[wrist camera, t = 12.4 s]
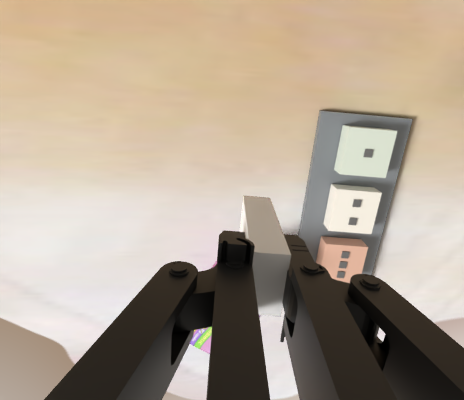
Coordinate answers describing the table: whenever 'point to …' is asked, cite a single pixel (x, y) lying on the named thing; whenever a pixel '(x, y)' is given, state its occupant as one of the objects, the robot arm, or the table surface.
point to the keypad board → (347, 179)
